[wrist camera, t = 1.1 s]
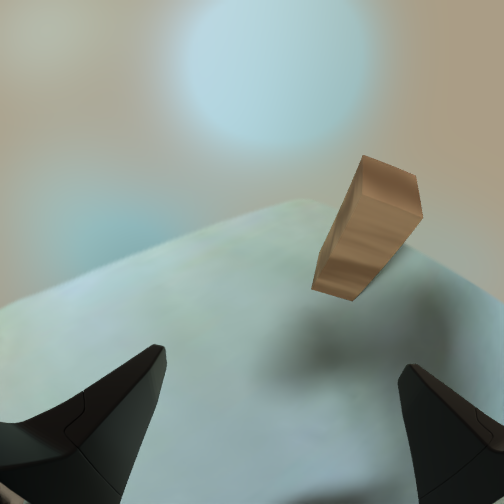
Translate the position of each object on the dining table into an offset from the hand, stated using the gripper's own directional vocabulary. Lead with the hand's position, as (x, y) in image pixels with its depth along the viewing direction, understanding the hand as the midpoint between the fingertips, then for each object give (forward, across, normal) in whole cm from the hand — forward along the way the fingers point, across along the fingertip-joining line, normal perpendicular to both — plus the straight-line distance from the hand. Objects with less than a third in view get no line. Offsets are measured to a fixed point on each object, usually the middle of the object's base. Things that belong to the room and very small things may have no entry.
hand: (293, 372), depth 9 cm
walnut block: (+18, -7, +4) cm, 20 cm away
